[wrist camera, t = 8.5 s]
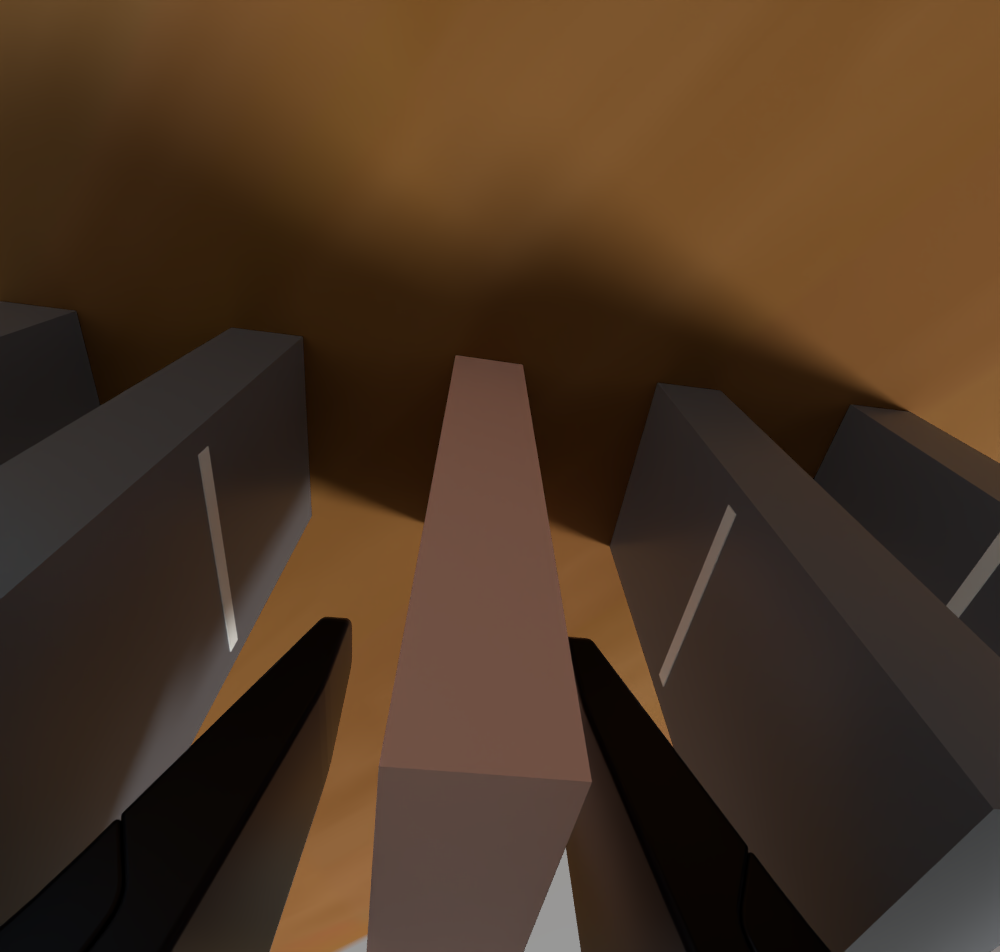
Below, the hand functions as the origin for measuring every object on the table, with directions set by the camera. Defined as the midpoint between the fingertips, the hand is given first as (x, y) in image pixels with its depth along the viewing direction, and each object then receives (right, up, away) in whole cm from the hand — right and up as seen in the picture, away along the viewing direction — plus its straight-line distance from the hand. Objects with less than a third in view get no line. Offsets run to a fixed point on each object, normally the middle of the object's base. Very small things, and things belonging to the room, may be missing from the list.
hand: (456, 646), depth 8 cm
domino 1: (-5, +4, +5) cm, 8 cm away
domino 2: (0, +3, +6) cm, 6 cm away
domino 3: (+5, +3, +6) cm, 8 cm away
